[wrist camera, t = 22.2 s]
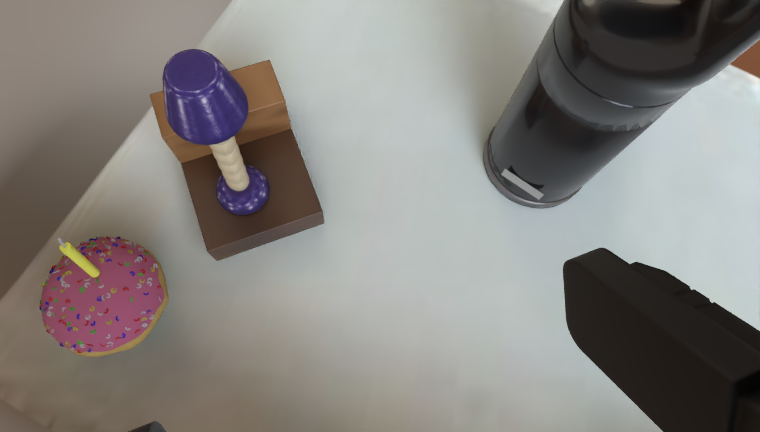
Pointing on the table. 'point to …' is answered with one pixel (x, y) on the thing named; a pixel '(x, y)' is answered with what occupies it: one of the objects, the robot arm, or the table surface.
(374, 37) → the table surface
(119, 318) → the cupcake
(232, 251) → the tiered shelf
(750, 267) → the table surface
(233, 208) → the toy lamp
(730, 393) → the robot arm
